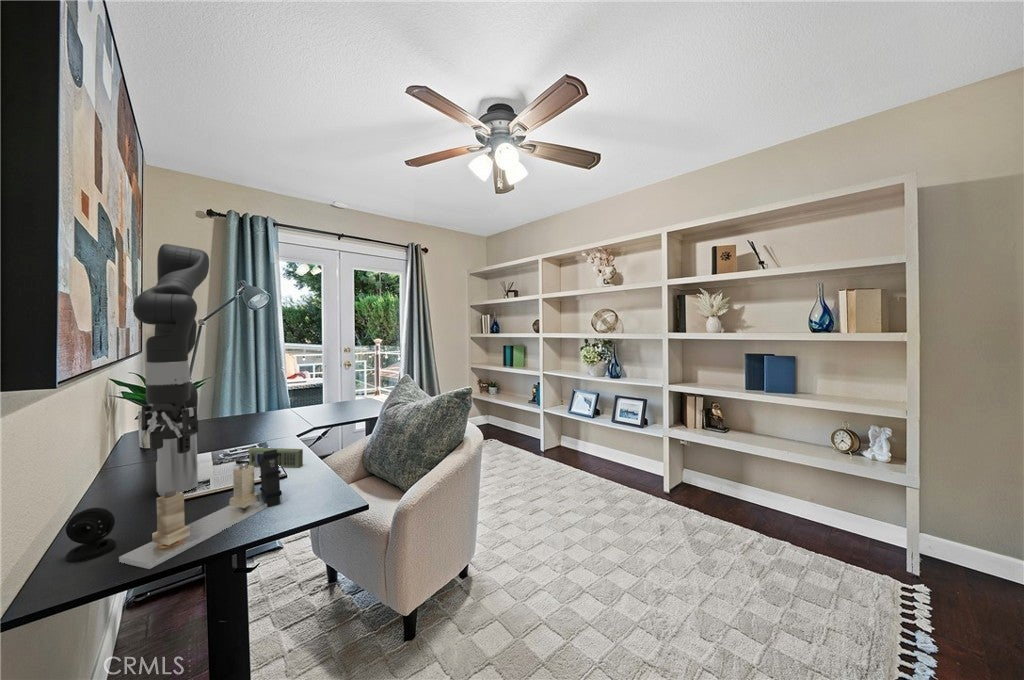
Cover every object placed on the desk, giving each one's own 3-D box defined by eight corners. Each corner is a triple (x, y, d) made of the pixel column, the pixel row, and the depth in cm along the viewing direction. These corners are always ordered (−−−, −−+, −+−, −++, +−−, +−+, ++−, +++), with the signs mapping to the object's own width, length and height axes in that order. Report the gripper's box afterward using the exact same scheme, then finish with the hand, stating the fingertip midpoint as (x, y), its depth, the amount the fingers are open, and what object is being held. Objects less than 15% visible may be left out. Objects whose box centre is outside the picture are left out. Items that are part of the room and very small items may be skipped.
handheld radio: (298, 469, 135) (232, 467, 137) (304, 466, 138) (239, 464, 140) (298, 450, 135) (232, 448, 137) (304, 448, 138) (240, 446, 140)
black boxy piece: (268, 505, 103) (263, 451, 108) (261, 510, 112) (256, 460, 117) (284, 501, 106) (278, 448, 110) (276, 506, 115) (271, 457, 119)
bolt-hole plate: (119, 562, 81) (117, 502, 81) (242, 503, 108) (241, 458, 108) (149, 569, 79) (147, 508, 78) (267, 507, 106) (266, 461, 105)
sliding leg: (152, 544, 85) (151, 494, 85) (174, 533, 89) (172, 486, 89) (168, 547, 84) (167, 496, 84) (190, 536, 88) (188, 488, 88)
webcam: (55, 566, 80) (54, 520, 79) (79, 547, 86) (77, 504, 86) (105, 557, 83) (103, 512, 82) (124, 539, 90) (122, 498, 89)
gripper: (126, 381, 84) (128, 453, 85) (172, 385, 81) (174, 459, 81) (164, 377, 92) (166, 443, 92) (209, 380, 88) (210, 448, 89)
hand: (170, 450), depth 87 cm, fingers open, 8 cm apart
